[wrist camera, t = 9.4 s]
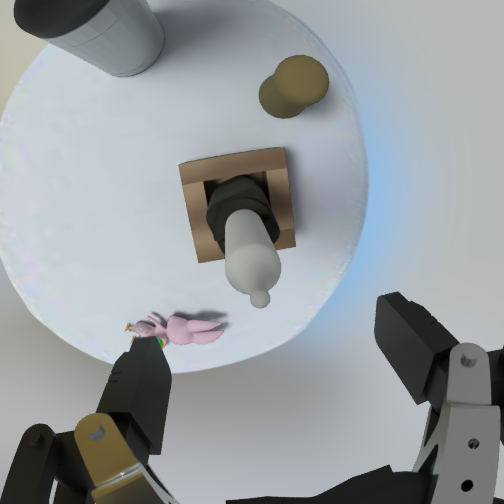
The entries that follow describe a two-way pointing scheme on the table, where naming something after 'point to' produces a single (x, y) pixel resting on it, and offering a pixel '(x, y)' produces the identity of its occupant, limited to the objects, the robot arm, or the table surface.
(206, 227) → the box
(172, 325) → the pink rainbow-tailed figurine
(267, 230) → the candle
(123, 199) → the table surface
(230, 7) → the table surface
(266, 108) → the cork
